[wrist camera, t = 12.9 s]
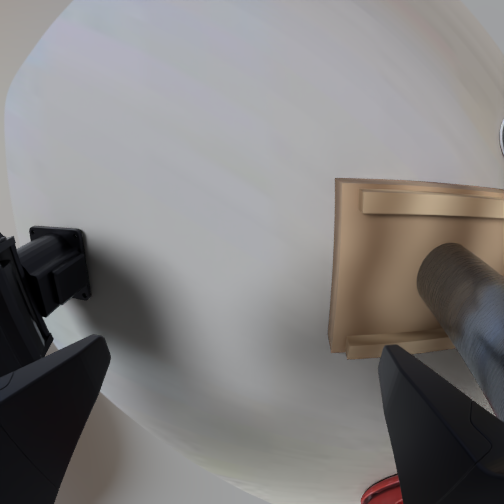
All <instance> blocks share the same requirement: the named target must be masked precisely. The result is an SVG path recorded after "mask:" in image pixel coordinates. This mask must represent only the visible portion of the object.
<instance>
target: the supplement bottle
mask: <svg viewBox="0 0 504 504" xmlns="http://www.w3.org/2000/svg"><path fill="white" fill-rule="evenodd" d="M500 145H501V149H502V152H503V155H504V119H503V122H502V124H501V128H500Z"/></svg>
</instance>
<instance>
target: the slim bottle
mask: <svg viewBox="0 0 504 504" xmlns="http://www.w3.org/2000/svg"><path fill="white" fill-rule="evenodd" d="M417 290H418V293H419V295H420V297H421V298H422V300H423V301H424V303H425V304H426V305H427V307H428V308H429V309H430V311H431V312H432V314H433V315H434V316H435V318H436V319H437V321H438V322H439V324H440V325H441V327H442V328H443V329H444V331H445V332H446V334H447V335H448V337H449V338H450V340H451V341H452V343H453V344H454V346H455V347H456V349H457V351H458V352H459V354H460V355H461V357H462V358H463V360H464V362H465V363H466V365H467V366H468V368H469V370H470V371H471V373H472V375H473V376H474V378H475V380H476V381H477V383H478V385H479V386H480V388H481V390H482V391H483V393H484V395H485V397H486V399H487V400H488V402H489V404H490V406H491V408H492V409H493V411H494V413H495V415H496V417H497V418H499V419H500V420H502V421H503V422H504V277H503V276H502V275H501V274H499V273H498V272H497V271H496V270H494V269H493V268H492V267H491V266H489V265H488V264H487V263H485V262H484V261H483V260H481V259H480V258H479V257H477V256H476V255H475V254H473V253H472V252H471V251H469V250H468V249H466V248H465V247H464V246H462V245H460V244H458V243H445V244H442V245H440V246H438V247H436V248H435V249H433V250H432V251H431V252H430V253H429V254H428V255H427V256H426V258H425V259H424V260H423V262H422V264H421V266H420V268H419V271H418V275H417Z"/></svg>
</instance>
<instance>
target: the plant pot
mask: <svg viewBox="0 0 504 504" xmlns="http://www.w3.org/2000/svg"><path fill="white" fill-rule="evenodd" d="M361 504H403V500H402V494H401V488H400V483H399V478H398V475H395V476H393V477H390V478H387V479H385V480H383V481H381V482H379V483H377V484H374V485H373V486H372V487H371V488H369V489H368V490H367V491H366V492H365V493H364V495H363V496H362V498H361Z"/></svg>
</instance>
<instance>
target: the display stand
mask: <svg viewBox="0 0 504 504" xmlns="http://www.w3.org/2000/svg"><path fill="white" fill-rule="evenodd" d="M445 243H458V244H460V245H462V246H464V247H465V248H466V249H468V250H469V251H471V252H472V253H473V254H475V255H476V256H477V257H479V258H480V259H481V260H483V261H484V262H485V263H487V264H488V265H489V266H491V267H492V268H493V269H494V270H496V271H497V272H498V273H499V274H501V275H502V276H503V277H504V190H503V189H496V188H487V187H478V186H469V185H459V184H448V183H436V182H422V181H405V180H385V179H355V178H335V225H334V252H333V272H332V288H331V301H330V314H329V325H328V338H329V343H330V349H331V353H339V352H346V356H347V360H348V359H364V358H378V357H381V354H382V350H383V347H384V346H385V345H390V344H397V345H399V346H400V347H402V348H403V349H405V350H406V351H407V352H409V353H410V354H418V353H426V352H433V351H440V350H447V349H454V348H456V347H455V346H454V344H453V343H452V341H451V340H450V338H449V337H448V335H447V334H446V332H445V331H444V329H443V328H442V327H441V325H440V324H439V322H438V321H437V319H436V318H435V316H434V315H433V314H432V312H431V311H430V309H429V308H428V307H427V305H426V304H425V303H424V301H423V300H422V298H421V297H420V295H419V293H418V290H417V275H418V271H419V268H420V266H421V264H422V262H423V260H424V259H425V258H426V256H427V255H428V254H429V253H430V252H431V251H432V250H433V249H435V248H436V247H438V246H440V245H442V244H445Z"/></svg>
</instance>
